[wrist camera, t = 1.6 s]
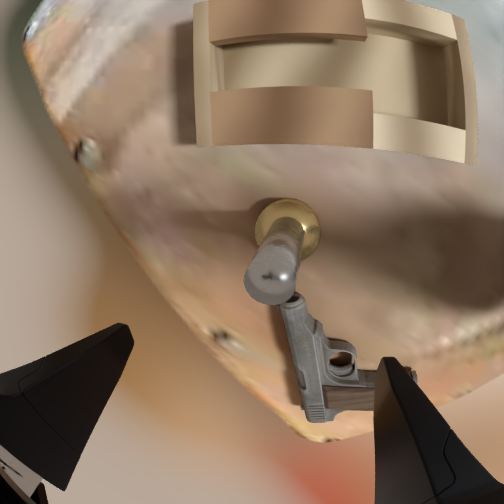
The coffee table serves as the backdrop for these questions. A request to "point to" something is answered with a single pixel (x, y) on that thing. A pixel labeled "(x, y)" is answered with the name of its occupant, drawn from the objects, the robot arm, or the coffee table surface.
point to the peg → (281, 249)
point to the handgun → (324, 367)
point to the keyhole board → (335, 76)
